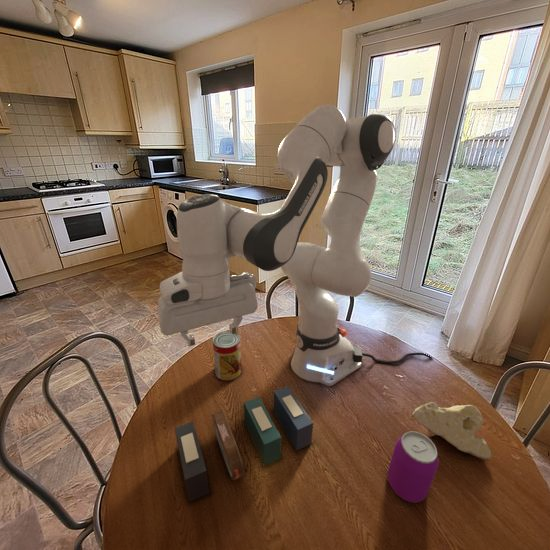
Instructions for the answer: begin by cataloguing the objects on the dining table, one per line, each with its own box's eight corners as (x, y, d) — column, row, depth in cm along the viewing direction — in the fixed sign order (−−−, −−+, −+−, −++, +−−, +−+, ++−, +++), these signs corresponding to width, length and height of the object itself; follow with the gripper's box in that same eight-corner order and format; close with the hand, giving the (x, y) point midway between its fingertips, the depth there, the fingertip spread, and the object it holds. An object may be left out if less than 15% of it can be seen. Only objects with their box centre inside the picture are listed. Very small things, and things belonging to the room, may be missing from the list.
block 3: (286, 405, 78) (287, 385, 75) (311, 444, 68) (313, 422, 65) (273, 411, 76) (273, 390, 73) (296, 451, 66) (297, 429, 63)
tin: (246, 484, 60) (245, 457, 56) (231, 491, 58) (229, 464, 55) (224, 425, 72) (222, 400, 68) (211, 430, 71) (209, 405, 67)
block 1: (196, 441, 68) (193, 420, 65) (209, 492, 58) (206, 469, 55) (178, 448, 66) (174, 426, 63) (188, 502, 57) (184, 479, 54)
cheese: (486, 443, 71) (448, 383, 76) (508, 448, 64) (466, 382, 69) (434, 473, 69) (399, 409, 74) (451, 483, 62) (411, 412, 67)
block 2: (259, 416, 74) (259, 395, 71) (280, 458, 65) (281, 436, 62) (244, 422, 73) (243, 401, 70) (264, 466, 63) (264, 444, 60)
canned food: (246, 373, 88) (245, 341, 83) (222, 384, 84) (219, 351, 79) (234, 358, 94) (232, 327, 89) (211, 368, 90) (208, 336, 85)
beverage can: (406, 512, 56) (420, 473, 51) (378, 474, 62) (388, 435, 57) (435, 495, 59) (451, 456, 54) (405, 460, 65) (417, 422, 60)
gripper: (249, 265, 64) (251, 318, 70) (150, 284, 56) (162, 342, 62) (262, 276, 59) (262, 332, 65) (155, 299, 51) (167, 361, 57)
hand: (213, 337), depth 63 cm, fingers open, 8 cm apart
